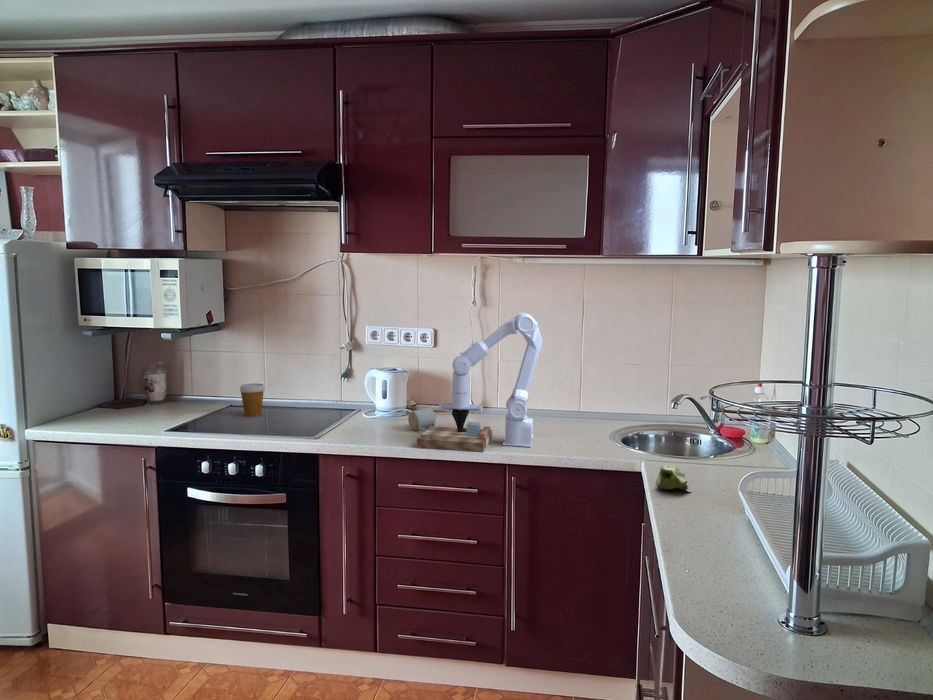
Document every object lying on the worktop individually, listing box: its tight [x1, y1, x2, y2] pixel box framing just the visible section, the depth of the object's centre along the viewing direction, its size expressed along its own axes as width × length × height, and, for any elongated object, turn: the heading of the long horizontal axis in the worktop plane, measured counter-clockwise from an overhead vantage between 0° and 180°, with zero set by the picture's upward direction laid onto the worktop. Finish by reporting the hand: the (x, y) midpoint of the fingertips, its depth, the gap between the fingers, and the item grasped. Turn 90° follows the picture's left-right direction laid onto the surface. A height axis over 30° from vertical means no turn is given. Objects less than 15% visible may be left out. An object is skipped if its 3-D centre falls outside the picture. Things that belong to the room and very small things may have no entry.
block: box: [465, 421, 481, 437], centre depth 221 cm, size 4×4×4 cm
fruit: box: [655, 464, 689, 491], centre depth 178 cm, size 9×9×8 cm
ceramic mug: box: [407, 407, 437, 433], centre depth 240 cm, size 11×8×8 cm
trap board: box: [416, 425, 493, 453], centre depth 223 cm, size 22×18×5 cm
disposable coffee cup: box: [239, 382, 266, 418], centre depth 260 cm, size 10×10×12 cm
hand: (460, 431), depth 222 cm, fingers closed
